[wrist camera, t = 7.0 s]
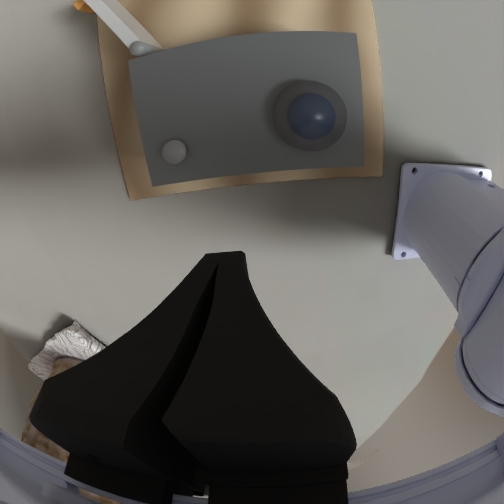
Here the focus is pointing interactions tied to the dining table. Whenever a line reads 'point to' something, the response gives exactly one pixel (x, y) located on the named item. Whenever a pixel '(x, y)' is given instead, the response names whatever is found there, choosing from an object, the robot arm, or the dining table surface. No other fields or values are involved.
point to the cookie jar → (52, 363)
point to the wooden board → (225, 25)
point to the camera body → (250, 105)
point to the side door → (122, 25)
